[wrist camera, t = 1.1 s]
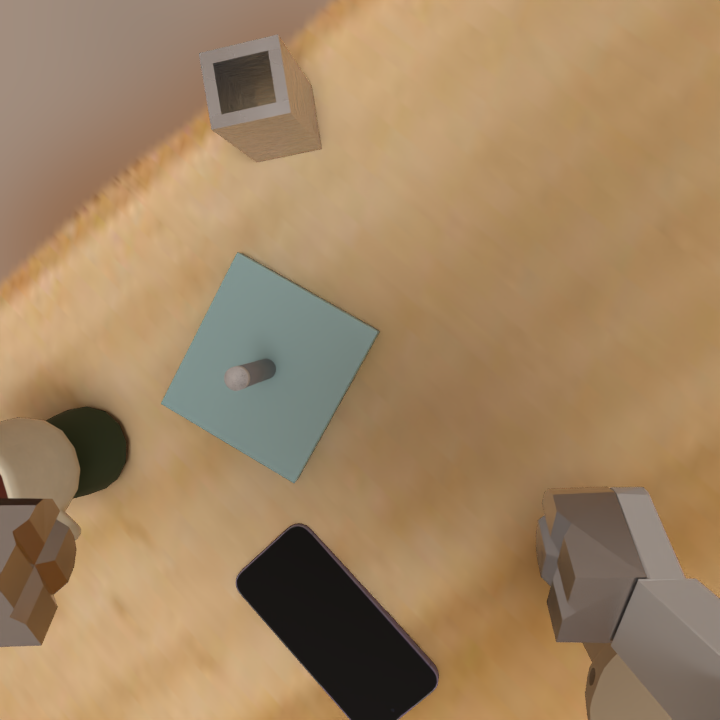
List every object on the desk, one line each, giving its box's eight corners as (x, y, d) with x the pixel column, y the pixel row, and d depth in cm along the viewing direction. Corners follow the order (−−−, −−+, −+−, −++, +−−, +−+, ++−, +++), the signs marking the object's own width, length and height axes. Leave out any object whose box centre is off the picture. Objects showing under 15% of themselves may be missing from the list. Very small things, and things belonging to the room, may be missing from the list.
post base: (242, 253, 44) (202, 243, 37) (380, 331, 43) (365, 335, 36) (167, 401, 45) (115, 418, 39) (297, 479, 44) (268, 511, 38)
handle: (532, 597, 43) (573, 752, 28) (562, 510, 42) (619, 621, 27) (604, 621, 42) (683, 792, 27) (635, 533, 41) (734, 659, 26)
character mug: (13, 433, 48) (-150, 480, 35) (66, 362, 46) (-82, 384, 34) (118, 530, 47) (-9, 614, 34) (175, 461, 46) (66, 521, 33)
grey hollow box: (321, 148, 42) (290, 112, 34) (256, 162, 43) (211, 129, 35) (311, 85, 42) (278, 34, 34) (246, 99, 43) (198, 53, 35)
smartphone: (299, 517, 44) (445, 681, 43) (303, 513, 46) (446, 672, 44) (228, 582, 46) (369, 743, 44) (234, 576, 47) (371, 733, 46)
